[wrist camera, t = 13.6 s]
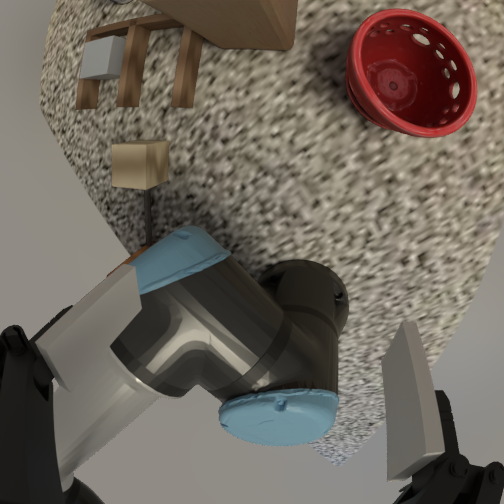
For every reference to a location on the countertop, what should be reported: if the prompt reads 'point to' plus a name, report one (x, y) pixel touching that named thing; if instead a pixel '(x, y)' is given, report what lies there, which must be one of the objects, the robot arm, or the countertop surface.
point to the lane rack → (135, 62)
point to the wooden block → (236, 21)
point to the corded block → (140, 175)
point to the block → (103, 58)
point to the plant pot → (409, 75)
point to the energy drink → (121, 1)
